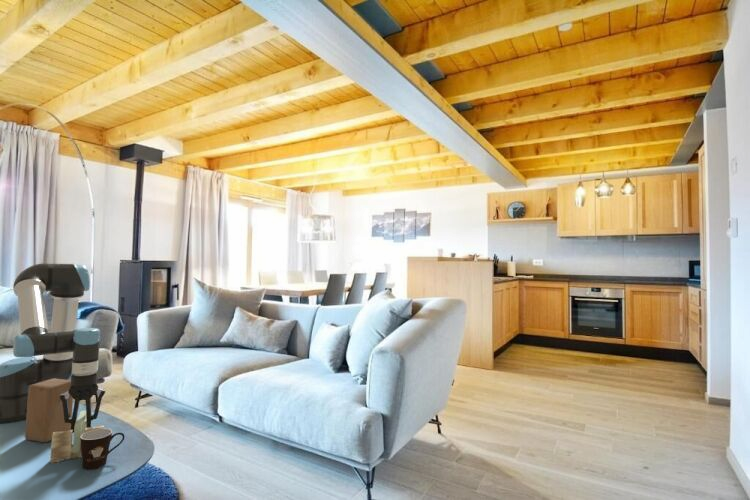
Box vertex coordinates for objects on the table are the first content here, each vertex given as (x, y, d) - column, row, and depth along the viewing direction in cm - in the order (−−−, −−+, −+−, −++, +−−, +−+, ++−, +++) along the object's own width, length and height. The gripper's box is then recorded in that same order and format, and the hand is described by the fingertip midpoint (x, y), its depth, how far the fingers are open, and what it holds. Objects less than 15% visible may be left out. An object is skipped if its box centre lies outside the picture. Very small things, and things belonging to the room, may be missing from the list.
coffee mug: (73, 473, 124) (75, 440, 124) (84, 459, 132) (86, 429, 132) (115, 469, 127) (117, 437, 127) (124, 456, 135) (126, 426, 136)
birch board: (49, 463, 129) (51, 435, 129) (52, 458, 132) (54, 430, 132) (101, 455, 135) (103, 428, 136) (102, 449, 139) (104, 424, 139)
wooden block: (45, 443, 141) (49, 387, 142) (23, 440, 143) (27, 384, 144) (71, 432, 151) (75, 380, 152) (50, 429, 153) (54, 377, 154)
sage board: (79, 436, 142) (80, 411, 143) (85, 435, 143) (86, 410, 143) (72, 453, 130) (74, 425, 130) (79, 451, 131) (81, 424, 131)
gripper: (55, 378, 132) (50, 449, 131) (109, 373, 139) (104, 441, 139) (60, 372, 139) (55, 440, 138) (110, 368, 146) (106, 432, 145)
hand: (80, 440), depth 138 cm, fingers closed on sage board, 2 cm apart
